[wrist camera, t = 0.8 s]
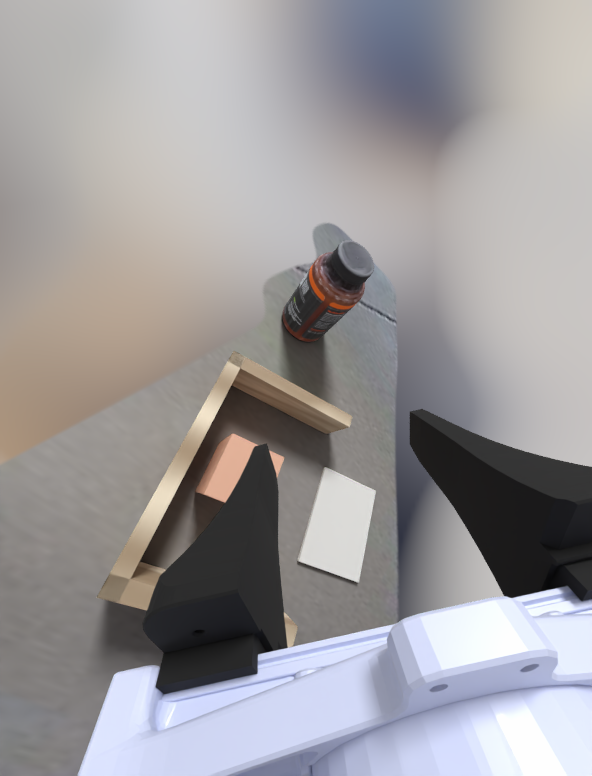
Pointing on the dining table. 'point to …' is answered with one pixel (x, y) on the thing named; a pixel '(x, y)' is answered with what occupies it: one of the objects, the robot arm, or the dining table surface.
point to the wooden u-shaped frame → (137, 578)
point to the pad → (338, 526)
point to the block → (229, 467)
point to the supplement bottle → (328, 291)
